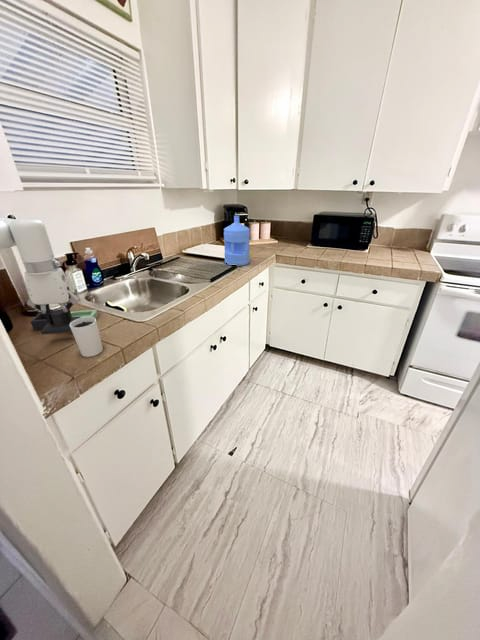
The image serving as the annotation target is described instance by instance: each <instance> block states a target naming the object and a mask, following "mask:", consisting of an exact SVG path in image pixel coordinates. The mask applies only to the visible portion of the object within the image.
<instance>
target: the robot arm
mask: <svg viewBox="0 0 480 640" xmlns="http://www.w3.org/2000/svg"><path fill="white" fill-rule="evenodd" d="M13 247H16V248H17V251H18V253H19V256H20V259H21V261H22V264H23V266H24V269H25V271H24V281H25V282H24V283H25V287H26V290H27V293H28V300H27V303H26V305H27V306H30V307H32V308H34V309H36V310H38V311H40V313H43V314H45V317H46V319H47V321H48V322H49V325H52V324H53V320H52V317H51V315H50V313H51V312H53V311H54V310H53V309H51V306H50V305H56V304H57V305H58V304H59V306H60V308H61V310H63V312H62V315H63V318H64V321H65V323H66V324H68V323H69V322H70V321H71V319H72V315H71V312H72V311H71V310H70V309H71V308H72V307H73V306H74V305H76V304H77V303H78V302H79V301H80V298H78V296H77V295H76V294H74V292H73V289H72V286H71V284H70V282H69V279H68V277H67V275H66V274H65V271H64V270H63V269H62V268H63V267H62V266H63V263H62V261H61V260H57V258H56V257H55V253H54V251H53V250H54V249H53V247H52V244H51V242H50V238H49V235H48V232H47V228H46V225H45V224H44V222H43V221H42V220H40V219H34V218H33V219H32V218H27V219H26V218H25V219H24V218H23V219H15V218H9V217H0V251H2V250H6V249H9V248H13ZM61 267H62V268H61Z"/></svg>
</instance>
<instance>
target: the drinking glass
mask: <svg viewBox="0 0 480 640" xmlns="http://www.w3.org/2000/svg"><path fill="white" fill-rule="evenodd" d="M70 328H71V330H72V332H71V333H72V335H73V337H74V340H75V342H76V344H77V347H78V349H79V352H80V355H81V356H83V357H84V358H91V357H94V356H98V355H99V354H101V352H103V349H104V348H103V344H102V340H101V335H100V331H99V326H98V322H97V318H96V319H95V318H93V317H83V318H79V319H76V320H74V321H72V322H71V323H70Z"/></svg>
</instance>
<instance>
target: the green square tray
mask: <svg viewBox="0 0 480 640" xmlns="http://www.w3.org/2000/svg"><path fill="white" fill-rule="evenodd" d="M98 311H99V310H98V309H86V310H85V309H84V310H75V311H70V312H71V315H72V317H80V318H83V317H93V318H95V319H96V320H97V318H98V316H99V312H98Z"/></svg>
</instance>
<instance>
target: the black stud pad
mask: <svg viewBox="0 0 480 640" xmlns="http://www.w3.org/2000/svg"><path fill="white" fill-rule="evenodd" d="M62 312H63V310H62V309H56V310H53V312H51V313H50V315H51V317H52V320H53V324H52V325H49V323H48V324H47V325H46V326H45V327H44V328H43V329H42V330H40V334H41V335H42V336H43V335H55V334H65V333H72V330H71V328H70V323H71V322H72V321H74V320H76V319H79V318H80V317H72V319H71V321H70V322H69V323H68V324H66V323H65V321H64V318H63V315H62Z"/></svg>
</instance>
